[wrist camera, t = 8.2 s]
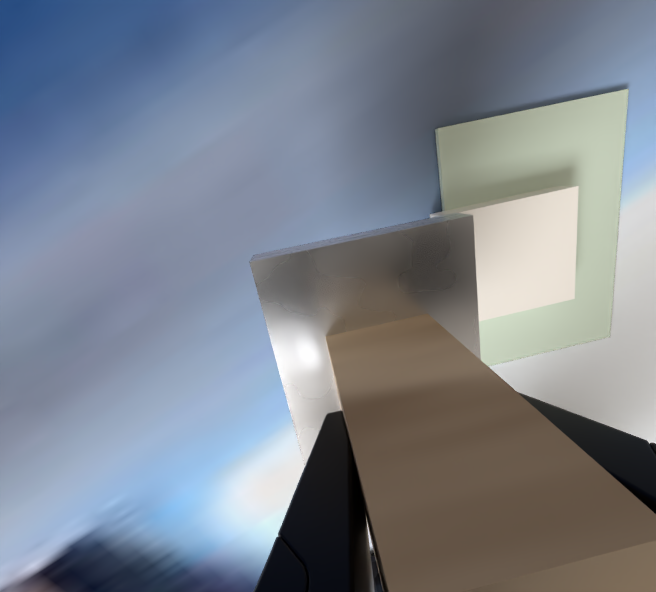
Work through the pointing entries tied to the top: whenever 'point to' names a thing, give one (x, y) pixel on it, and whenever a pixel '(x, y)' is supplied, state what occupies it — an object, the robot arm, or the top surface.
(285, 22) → the top surface
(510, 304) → the tile
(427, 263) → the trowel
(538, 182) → the mat
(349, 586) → the robot arm
